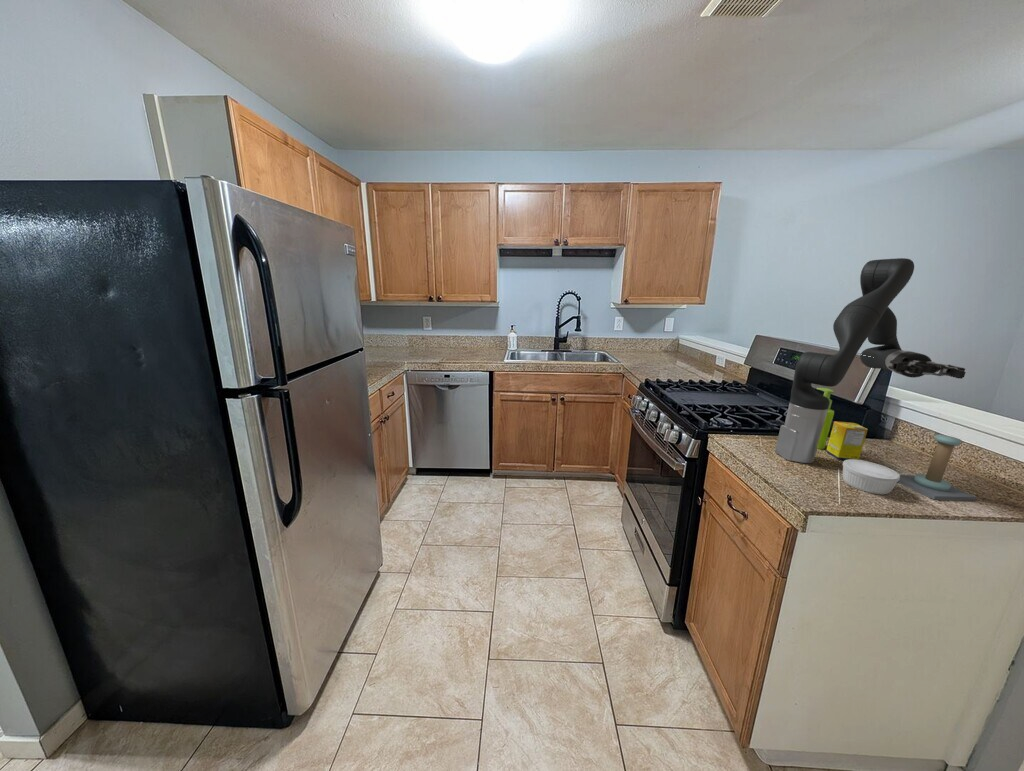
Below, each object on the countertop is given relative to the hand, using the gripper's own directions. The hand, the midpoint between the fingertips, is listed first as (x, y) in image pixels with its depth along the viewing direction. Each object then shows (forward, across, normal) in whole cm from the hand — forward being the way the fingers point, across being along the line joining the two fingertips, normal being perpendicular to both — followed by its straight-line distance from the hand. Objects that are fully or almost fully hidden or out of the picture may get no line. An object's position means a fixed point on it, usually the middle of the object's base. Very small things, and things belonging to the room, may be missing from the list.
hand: (940, 373), depth 100 cm
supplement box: (-3, -14, +30) cm, 34 cm away
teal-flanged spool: (+11, 0, +29) cm, 31 cm away
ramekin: (+17, -16, +30) cm, 38 cm away
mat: (+11, 0, +30) cm, 32 cm away
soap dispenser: (-10, -20, +30) cm, 38 cm away
